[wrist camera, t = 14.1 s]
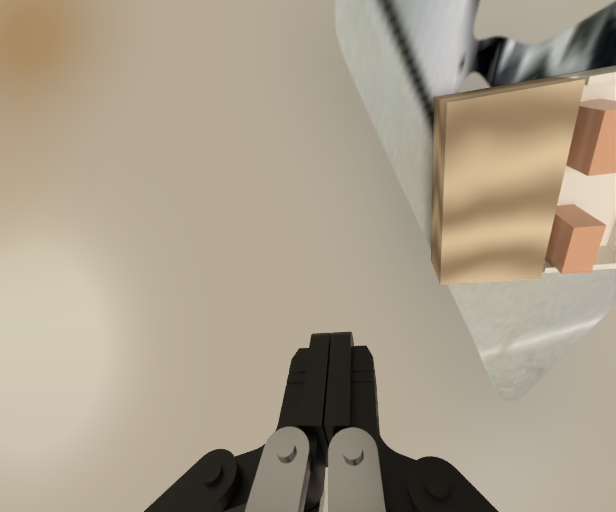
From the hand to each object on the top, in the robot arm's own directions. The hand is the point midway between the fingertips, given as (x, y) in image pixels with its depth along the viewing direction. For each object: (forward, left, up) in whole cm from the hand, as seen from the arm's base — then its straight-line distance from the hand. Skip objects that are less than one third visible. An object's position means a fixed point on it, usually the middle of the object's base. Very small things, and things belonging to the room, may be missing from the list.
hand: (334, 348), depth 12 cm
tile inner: (-1, +20, -23) cm, 30 cm away
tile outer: (+9, +19, -23) cm, 31 cm away
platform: (+4, +13, -26) cm, 29 cm away
